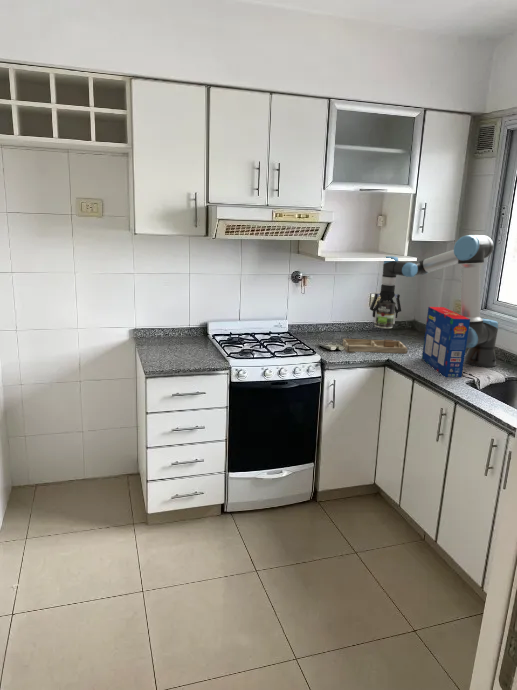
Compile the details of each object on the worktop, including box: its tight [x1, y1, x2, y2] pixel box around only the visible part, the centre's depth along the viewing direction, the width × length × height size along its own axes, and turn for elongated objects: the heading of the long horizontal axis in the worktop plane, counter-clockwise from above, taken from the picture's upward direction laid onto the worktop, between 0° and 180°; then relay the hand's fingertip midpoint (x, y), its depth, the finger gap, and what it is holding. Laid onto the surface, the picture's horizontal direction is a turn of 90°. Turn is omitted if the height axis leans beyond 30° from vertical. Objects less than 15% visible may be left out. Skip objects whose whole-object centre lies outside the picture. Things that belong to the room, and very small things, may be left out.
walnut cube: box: [383, 339, 395, 347], centre depth 283 cm, size 4×4×4 cm
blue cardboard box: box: [421, 306, 470, 378], centre depth 252 cm, size 28×8×28 cm, turn 5°
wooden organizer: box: [342, 338, 409, 354], centre depth 284 cm, size 16×32×4 cm, turn 90°
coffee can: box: [374, 300, 397, 329], centre depth 294 cm, size 10×10×14 cm
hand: (384, 323), depth 296 cm, fingers closed on coffee can, 10 cm apart
